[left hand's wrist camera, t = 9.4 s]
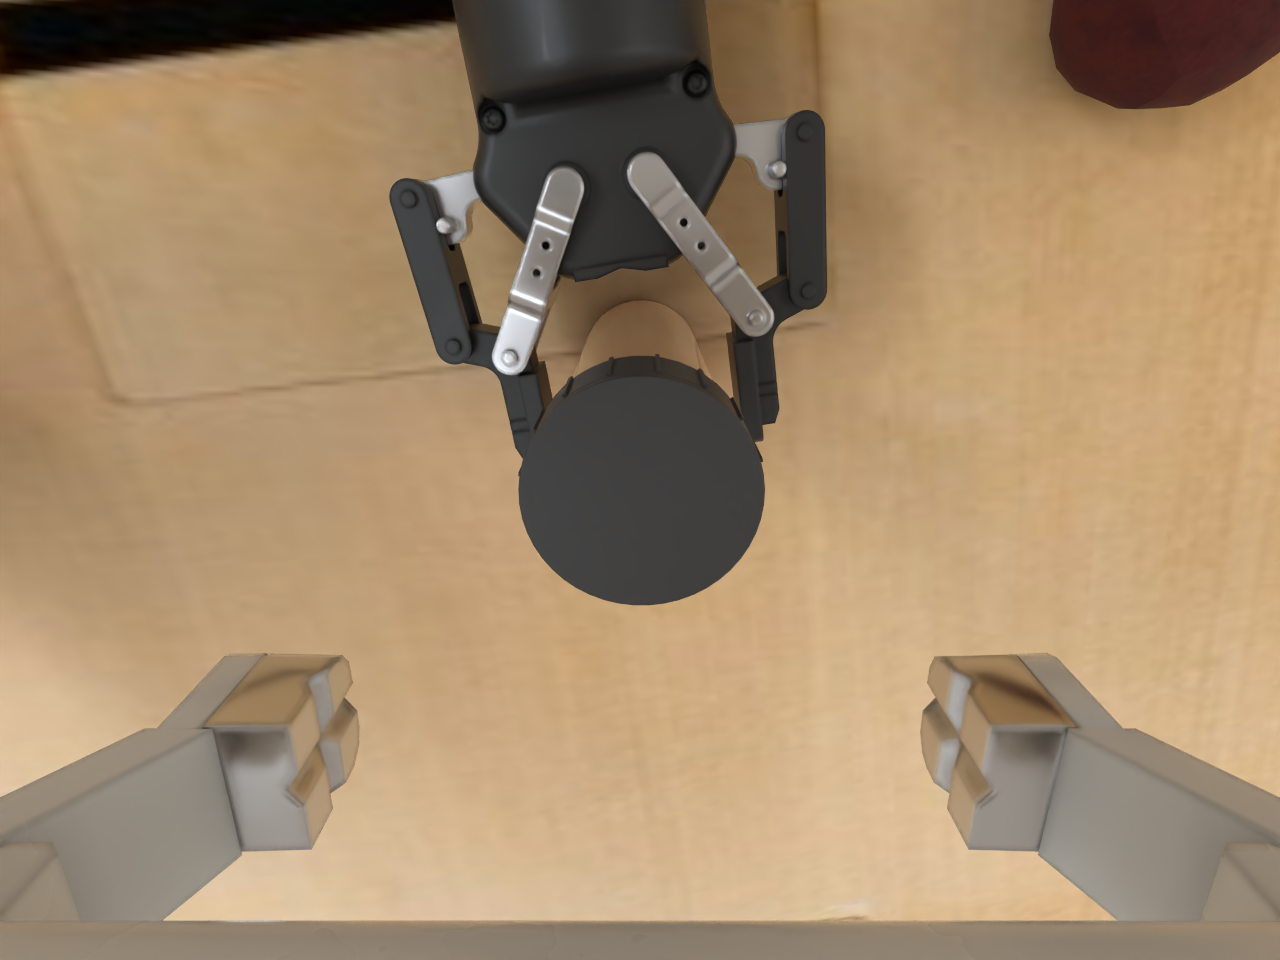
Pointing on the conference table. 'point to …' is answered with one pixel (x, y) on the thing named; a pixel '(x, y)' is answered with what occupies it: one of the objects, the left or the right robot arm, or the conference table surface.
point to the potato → (1161, 47)
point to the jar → (641, 336)
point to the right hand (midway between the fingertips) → (651, 450)
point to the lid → (641, 481)
